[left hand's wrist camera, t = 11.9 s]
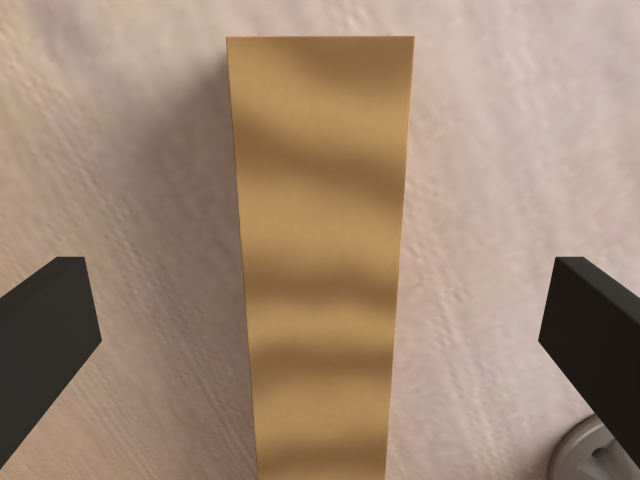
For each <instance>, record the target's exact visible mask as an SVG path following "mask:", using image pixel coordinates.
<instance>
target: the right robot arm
mask: <svg viewBox="0 0 640 480" xmlns="http://www.w3.org/2000/svg"><path fill="white" fill-rule="evenodd" d="M547 479H548V480H640V469H639V468H638V467H637V466H636V464H635V463H634V462H633V460H632V459H631V458H630V457H629V455H628V454H627V453H626V452H625V450H624V449H623V448H622V447H621V445H620V444H619V443H618V441H617V440H616V439H615V438H614V436H613V435H612V434H611V433H610V431H609V430H608V429H607V428H606V426H605V425H604V424H603V422H602V421H601V420H600V419H599V417H598V416H597V415H595V416H593V417H591V418H589V419H587V420H586V421H584V422H583V423H581V424H580V425H578V426H577V427H576V428H575V429H573V430H572V431H571V432H570V433H569V434H568V435H567V436H566V437H565V438H564V439H563V440H562V441H561V443H560V444H559V445H558V447H557V448H556V450H555V452H554V453H553V455H552V458H551V460H550V463H549V466H548V473H547Z"/></svg>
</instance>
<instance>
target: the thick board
mask: <svg viewBox="0 0 640 480" xmlns="http://www.w3.org/2000/svg"><path fill="white" fill-rule="evenodd" d="M414 39H415V37H414V36H333V37H226V44H227V58H228V72H229V86H230V100H231V113H232V127H233V141H234V155H235V169H236V183H237V196H238V210H239V224H240V238H241V252H242V265H243V279H244V293H245V307H246V321H247V335H248V348H249V362H250V376H251V390H252V404H253V417H254V431H255V445H256V459H257V473H258V480H385V468H386V453H387V438H388V424H389V409H390V394H391V379H392V364H393V350H394V335H395V320H396V305H397V291H398V276H399V261H400V246H401V231H402V217H403V202H404V187H405V172H406V157H407V143H408V128H409V113H410V98H411V84H412V69H413V54H414Z"/></svg>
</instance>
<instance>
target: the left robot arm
mask: <svg viewBox="0 0 640 480" xmlns="http://www.w3.org/2000/svg"><path fill="white" fill-rule="evenodd" d="M101 341H102V339H101V334H100V329H99V324H98V320H97V315H96V310H95V305H94V301H93V296H92V291H91V286H90V282H89V277H88V272H87V267H86V262H85V258H84V257H56V258H55V259H53V260H52V261H50V262H49V263H48V264H46V265H45V266H44V267H42V268H41V269H39V270H38V271H37V272H35V273H34V274H33V275H31V276H30V277H29V278H27V279H26V280H24V281H23V282H22V283H20V284H19V285H18V286H16V287H15V288H13V289H12V290H11V291H9V292H8V293H7V294H5V295H4V296H3V297H1V298H0V469H1V468H2V467H3V466H4V464H5V463H6V462H7V460H8V459H9V458H10V457H11V455H12V454H13V453H14V452H15V450H16V449H17V448H18V447H19V445H20V444H21V443H22V441H23V440H24V439H25V438H26V436H27V435H28V434H29V433H30V431H31V430H32V429H33V428H34V426H35V425H36V424H37V422H38V421H39V420H40V419H41V417H42V416H43V415H44V414H45V412H46V411H47V410H48V409H49V407H50V406H51V405H52V403H53V402H54V401H55V400H56V398H57V397H58V396H59V395H60V393H61V392H62V391H63V390H64V388H65V387H66V386H67V384H68V383H69V382H70V381H71V379H72V378H73V377H74V376H75V374H76V373H77V372H78V371H79V369H80V368H81V367H82V365H83V364H84V363H85V362H86V360H87V359H88V358H89V357H90V355H91V354H92V353H93V352H94V350H95V349H96V348H97V346H98V345H99V344H100V343H101ZM538 341H539V343H540V344H541V345H542V346H543V348H544V349H545V350H546V352H547V353H548V354H549V355H550V357H551V358H552V359H553V360H554V362H555V363H556V364H557V365H558V367H559V368H560V369H561V371H562V372H563V373H564V374H565V376H566V377H567V378H568V379H569V381H570V382H571V383H572V384H573V386H574V387H575V388H576V390H577V391H578V392H579V393H580V395H581V396H582V397H583V398H584V400H585V401H586V402H587V403H588V405H589V406H590V407H591V409H592V410H593V411H594V412H595V414H596V415H597V416H598V417H599V419H600V420H601V421H602V422H603V424H604V425H605V426H606V428H607V429H608V430H609V431H610V433H611V434H612V435H613V436H614V438H615V439H616V440H617V441H618V443H619V444H620V445H621V447H622V448H623V449H624V450H625V452H626V453H627V454H628V455H629V457H630V458H631V459H632V460H633V462H634V463H635V464H636V466H637V467H638V468H639V469H640V298H639V297H637V296H636V295H635V294H633V293H632V292H631V291H629V290H628V289H627V288H625V287H624V286H622V285H621V284H620V283H618V282H617V281H616V280H614V279H613V278H611V277H610V276H609V275H607V274H606V273H605V272H603V271H602V270H601V269H599V268H598V267H596V266H595V265H594V264H592V263H591V262H590V261H588V260H587V259H585V258H584V257H556V258H555V262H554V267H553V272H552V277H551V282H550V286H549V291H548V296H547V301H546V305H545V310H544V315H543V320H542V324H541V329H540V334H539V339H538Z"/></svg>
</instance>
